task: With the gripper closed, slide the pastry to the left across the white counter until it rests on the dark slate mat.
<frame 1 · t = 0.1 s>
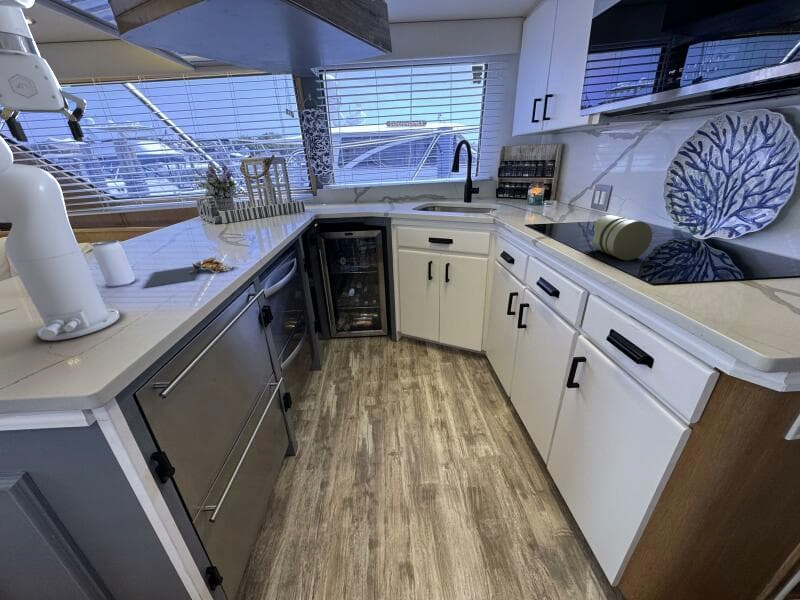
hand: (51, 141, 73), 37 cm above the worktop, tool pointing down, fingers open, 9 cm apart
slate mat: (173, 276, 98), on the worktop
pastry: (214, 270, 102), on the worktop, touching slate mat
can: (122, 283, 93), on the worktop
piston: (614, 255, 100), on the worktop
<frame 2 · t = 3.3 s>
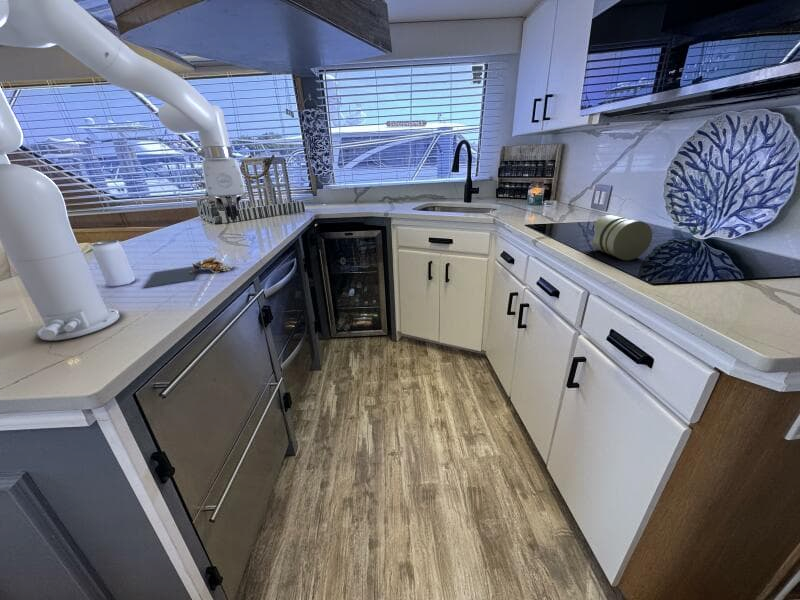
hand: (233, 218, 100), 15 cm above the worktop, tool pointing down, fingers closed
nothing on the worktop moved.
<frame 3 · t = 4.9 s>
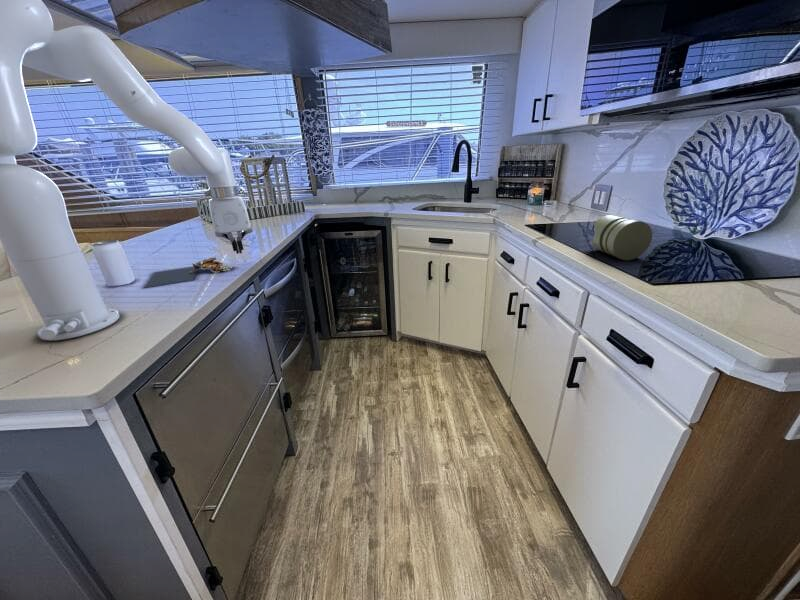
hand: (239, 252, 104), 4 cm above the worktop, tool pointing down, fingers closed
nothing on the worktop moved.
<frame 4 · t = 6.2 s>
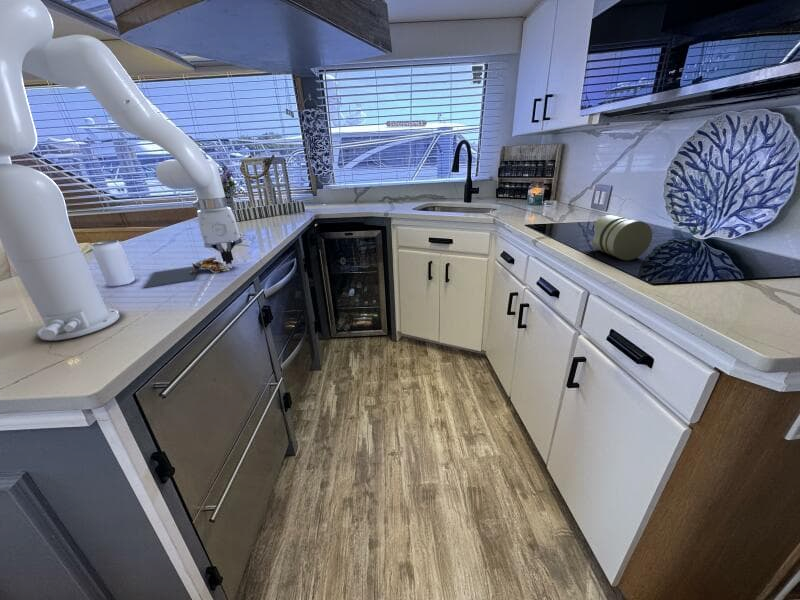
hand: (228, 263, 104), 1 cm above the worktop, tool pointing down, fingers closed
pastry: (214, 270, 102), on the worktop, touching gripper, slate mat
everything else where it was.
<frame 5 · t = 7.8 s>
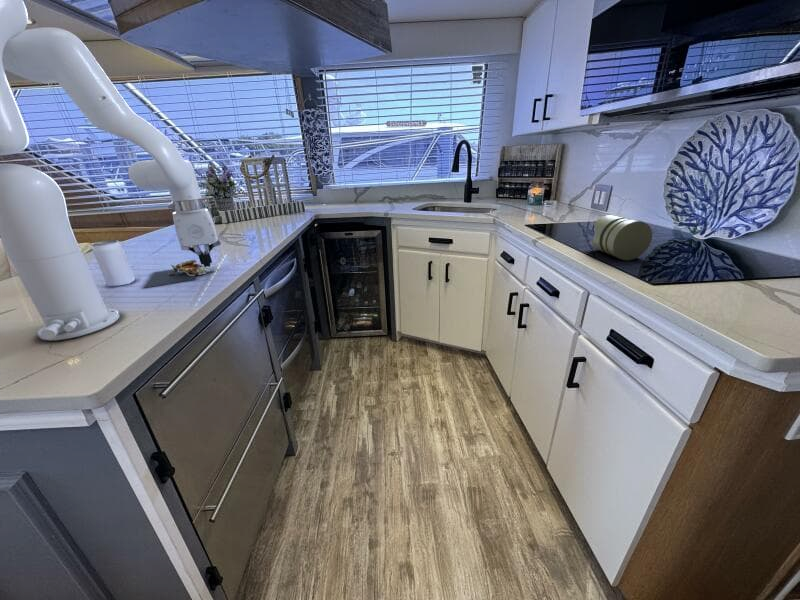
hand: (207, 265, 101), 2 cm above the worktop, tool pointing down, fingers closed
pastry: (193, 273, 100), on the worktop, touching gripper, slate mat
everything else where it was.
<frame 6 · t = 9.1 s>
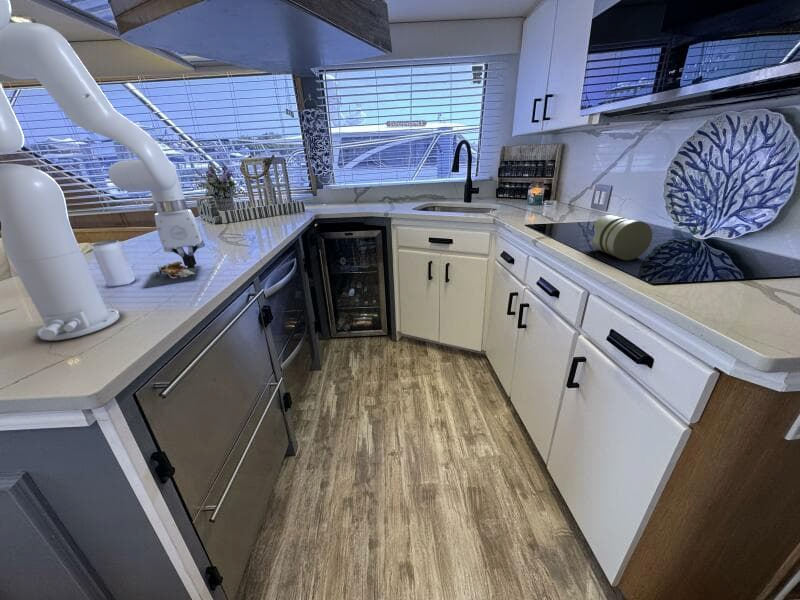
hand: (191, 267, 100), 2 cm above the worktop, tool pointing down, fingers closed
pastry: (178, 275, 99), resting on slate mat, touching gripper
everything else where it was.
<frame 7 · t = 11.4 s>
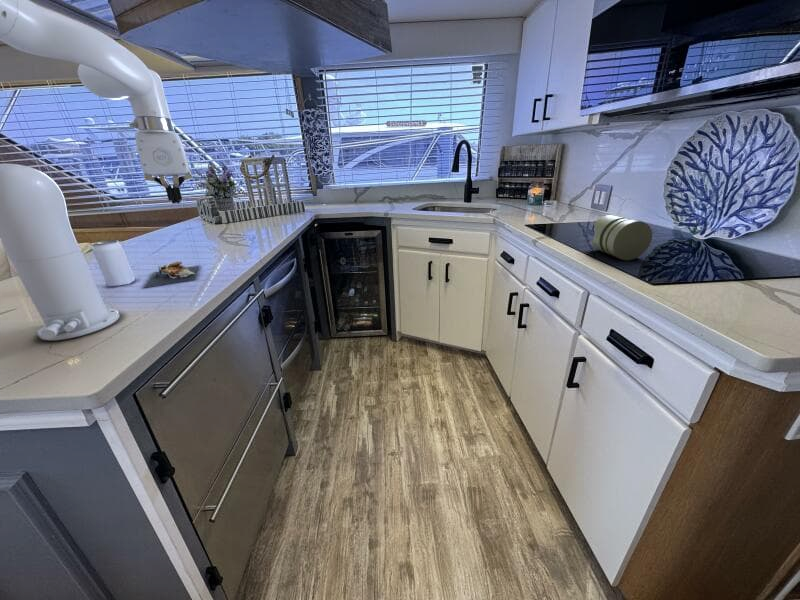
hand: (176, 202, 88), 21 cm above the worktop, tool pointing down, fingers closed
pastry: (178, 275, 99), resting on slate mat
everything else where it was.
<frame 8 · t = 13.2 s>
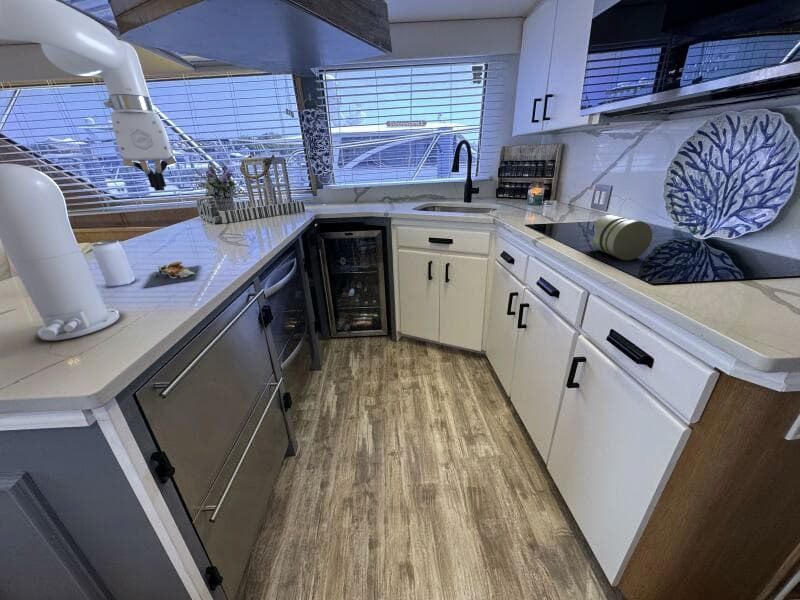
hand: (160, 190, 82), 25 cm above the worktop, tool pointing down, fingers closed
nothing on the worktop moved.
at the end: pastry inside the target area (1.4 cm from its centre), resting on slate mat; pastry moved 10.0 cm from its start; can moved 0.2 cm from its start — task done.
